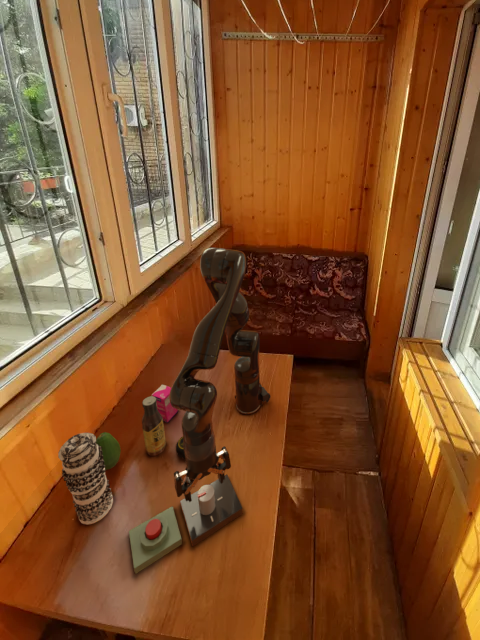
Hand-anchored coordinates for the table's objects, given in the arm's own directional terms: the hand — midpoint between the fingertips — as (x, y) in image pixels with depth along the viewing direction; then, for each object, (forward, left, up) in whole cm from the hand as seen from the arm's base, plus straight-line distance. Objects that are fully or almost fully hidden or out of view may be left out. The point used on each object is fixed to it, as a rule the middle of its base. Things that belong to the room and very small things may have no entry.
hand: (205, 489), depth 83 cm
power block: (+14, -1, -9) cm, 16 cm away
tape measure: (-1, -21, -9) cm, 23 cm away
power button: (+14, -1, -5) cm, 15 cm away
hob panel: (-1, 0, -9) cm, 9 cm away
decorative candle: (+26, -18, -9) cm, 33 cm away
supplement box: (+2, -40, -9) cm, 41 cm away
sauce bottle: (+8, -28, -9) cm, 30 cm away
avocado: (+22, -30, -9) cm, 38 cm away
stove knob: (0, 0, -6) cm, 6 cm away
